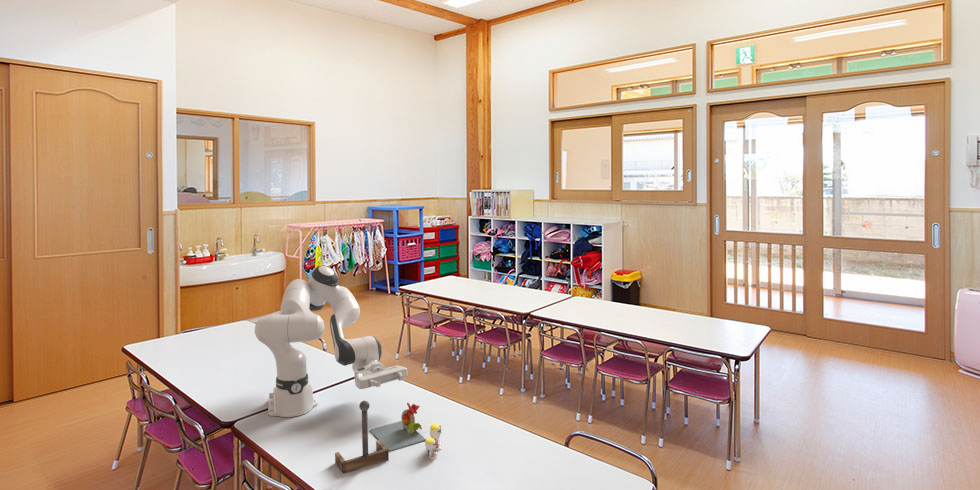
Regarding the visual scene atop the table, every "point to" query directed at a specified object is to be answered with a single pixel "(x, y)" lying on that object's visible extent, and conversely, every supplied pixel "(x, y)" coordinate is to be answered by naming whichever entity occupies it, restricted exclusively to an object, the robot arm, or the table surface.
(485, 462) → the table surface
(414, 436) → the mat
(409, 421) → the bird rattle
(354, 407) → the table surface
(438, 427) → the toy figures
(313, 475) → the table surface
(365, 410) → the wooden lever stand
